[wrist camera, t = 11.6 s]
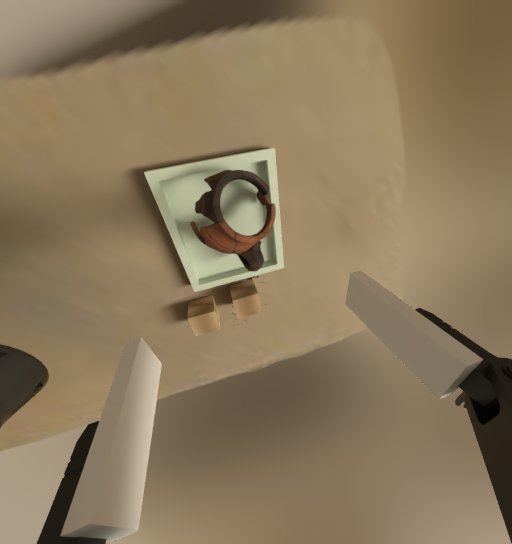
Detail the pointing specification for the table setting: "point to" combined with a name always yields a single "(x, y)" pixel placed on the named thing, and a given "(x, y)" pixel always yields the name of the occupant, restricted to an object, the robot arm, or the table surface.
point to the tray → (235, 209)
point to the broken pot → (220, 232)
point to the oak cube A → (203, 315)
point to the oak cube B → (245, 298)
